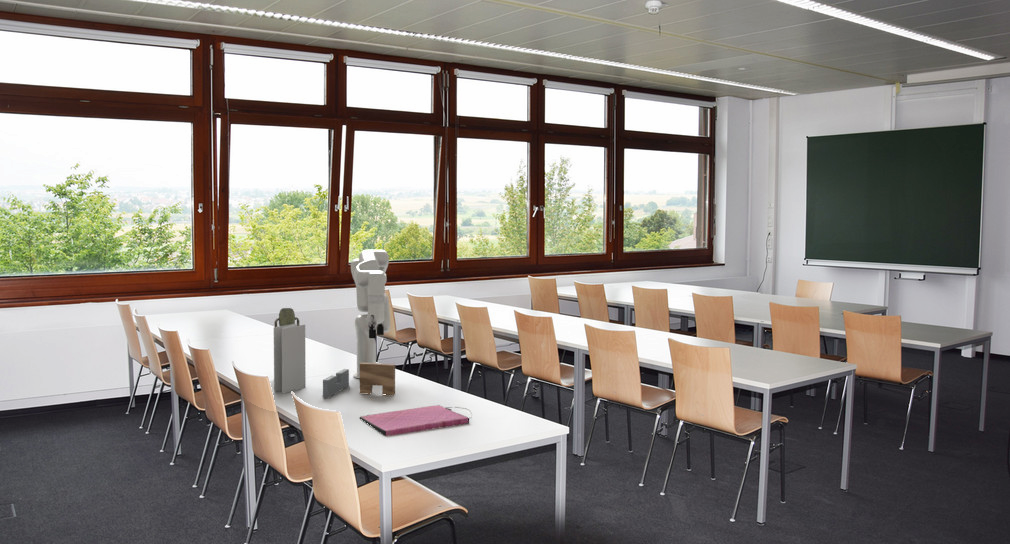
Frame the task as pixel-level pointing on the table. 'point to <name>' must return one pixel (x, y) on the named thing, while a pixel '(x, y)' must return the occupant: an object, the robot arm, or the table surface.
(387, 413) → the laptop bag
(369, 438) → the table surface
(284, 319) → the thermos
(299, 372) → the tall grey pillar
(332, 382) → the stepped grey block
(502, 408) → the table surface
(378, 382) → the walnut plate
